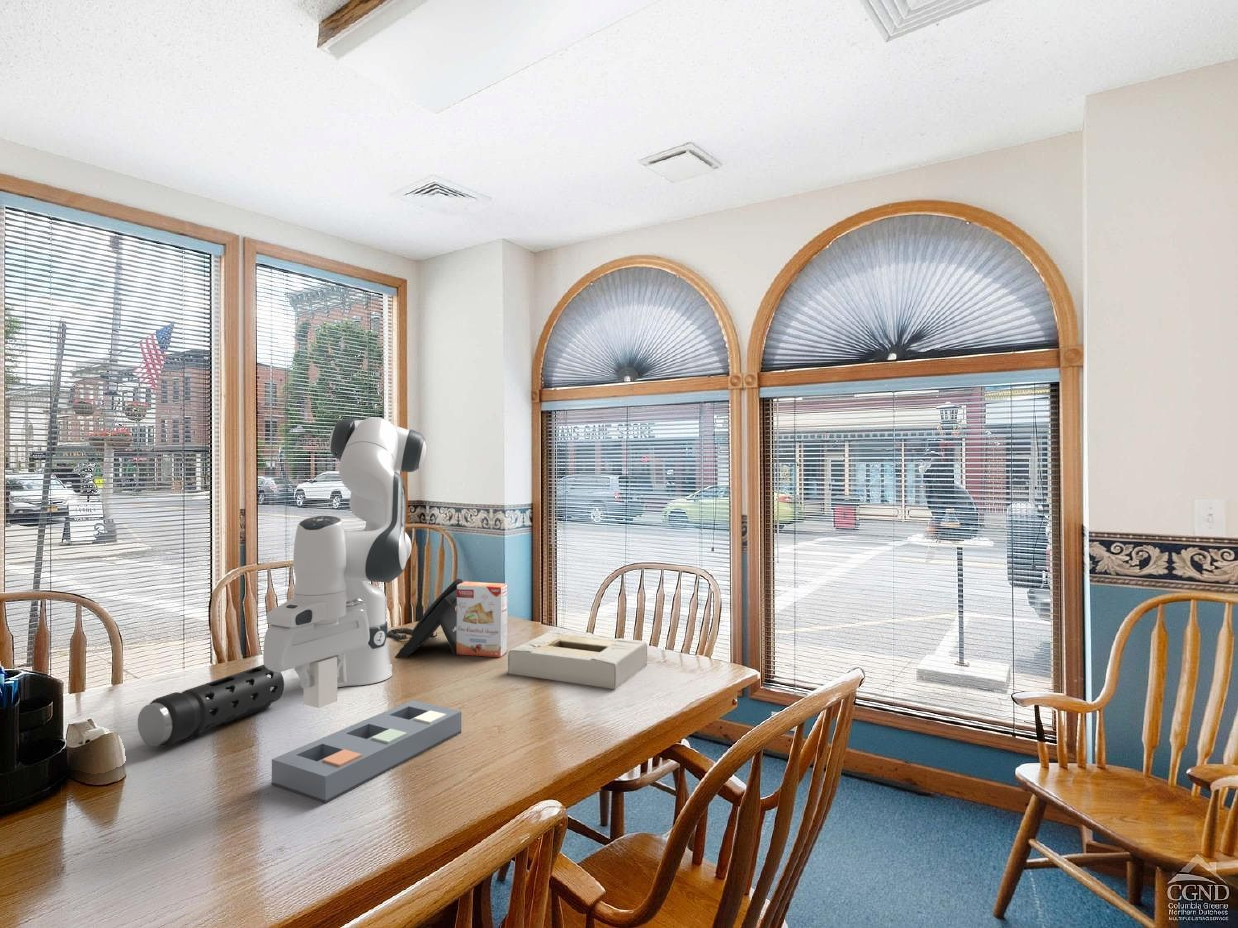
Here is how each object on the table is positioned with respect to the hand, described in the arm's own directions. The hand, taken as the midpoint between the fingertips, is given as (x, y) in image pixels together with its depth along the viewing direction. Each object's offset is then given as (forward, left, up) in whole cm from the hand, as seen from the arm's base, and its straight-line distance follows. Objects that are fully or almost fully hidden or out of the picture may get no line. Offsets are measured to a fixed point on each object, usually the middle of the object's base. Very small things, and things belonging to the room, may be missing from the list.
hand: (320, 682), depth 125 cm
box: (+8, +78, -18) cm, 80 cm away
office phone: (-48, +76, -18) cm, 91 cm away
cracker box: (-25, +76, -17) cm, 82 cm away
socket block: (+2, +11, -17) cm, 20 cm away
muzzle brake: (-39, +5, -18) cm, 43 cm away
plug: (0, 0, -4) cm, 4 cm away
